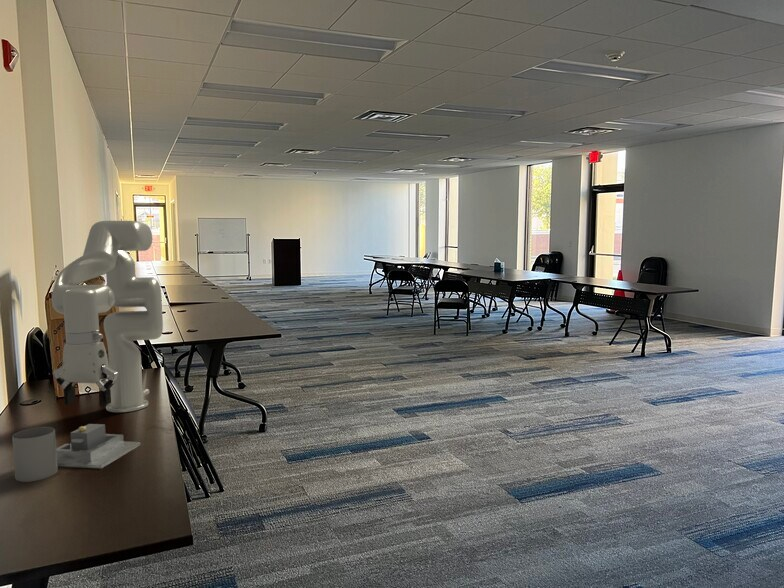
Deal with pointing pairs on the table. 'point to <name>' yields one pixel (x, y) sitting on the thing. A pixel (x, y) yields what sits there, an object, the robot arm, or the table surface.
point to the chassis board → (95, 453)
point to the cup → (34, 454)
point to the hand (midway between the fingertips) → (87, 403)
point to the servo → (88, 437)
